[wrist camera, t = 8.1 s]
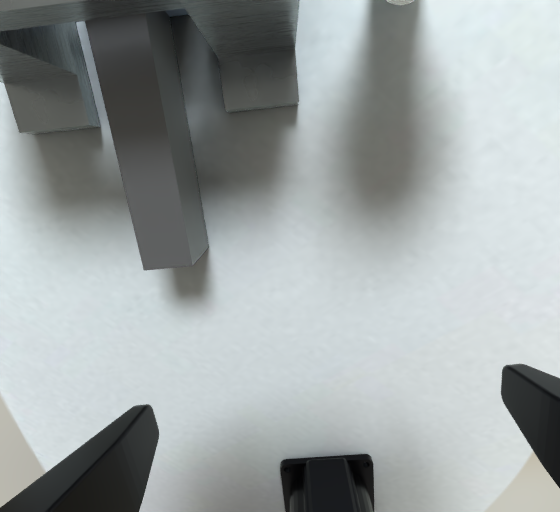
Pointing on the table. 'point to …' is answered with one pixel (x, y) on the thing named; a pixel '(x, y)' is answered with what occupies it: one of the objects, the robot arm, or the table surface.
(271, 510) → the table surface
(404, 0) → the lightbulb
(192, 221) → the plug
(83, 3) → the gray arch-shaped bracket
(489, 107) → the table surface
